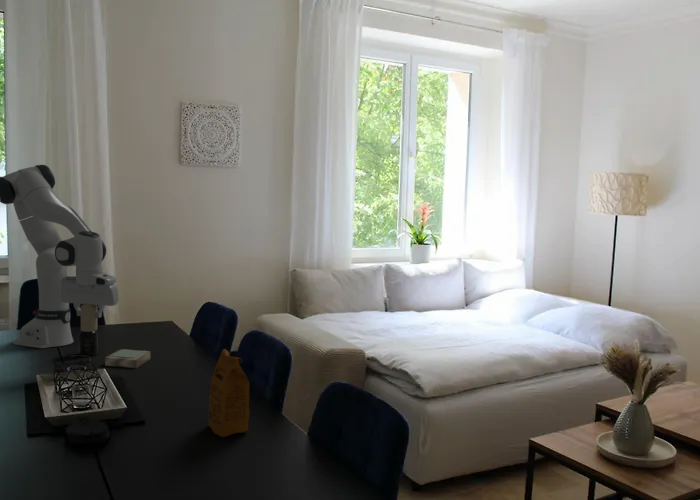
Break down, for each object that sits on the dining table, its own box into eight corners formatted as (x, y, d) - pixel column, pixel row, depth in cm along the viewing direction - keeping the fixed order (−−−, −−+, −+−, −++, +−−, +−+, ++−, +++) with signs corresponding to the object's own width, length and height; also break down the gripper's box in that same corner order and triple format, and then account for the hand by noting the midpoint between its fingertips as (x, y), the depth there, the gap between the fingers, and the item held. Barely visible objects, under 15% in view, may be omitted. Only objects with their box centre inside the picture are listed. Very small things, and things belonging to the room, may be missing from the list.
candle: (91, 332, 229) (91, 304, 227) (77, 331, 230) (77, 303, 228) (100, 328, 234) (100, 301, 233) (86, 327, 235) (86, 300, 234)
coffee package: (236, 419, 192) (238, 345, 189) (252, 434, 181) (254, 356, 178) (203, 424, 187) (205, 349, 184) (217, 440, 176) (219, 360, 174)
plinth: (105, 365, 238) (105, 356, 238) (120, 356, 250) (120, 348, 250) (136, 367, 237) (136, 359, 236) (150, 359, 249) (150, 350, 248)
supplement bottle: (100, 352, 254) (101, 322, 253) (92, 357, 248) (92, 326, 246) (84, 351, 255) (84, 321, 254) (75, 356, 248) (74, 325, 247)
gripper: (56, 277, 228) (56, 316, 229) (112, 281, 226) (111, 320, 227) (66, 274, 234) (66, 312, 236) (120, 278, 232) (120, 316, 233)
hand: (89, 316), depth 231 cm, fingers closed on candle, 5 cm apart
